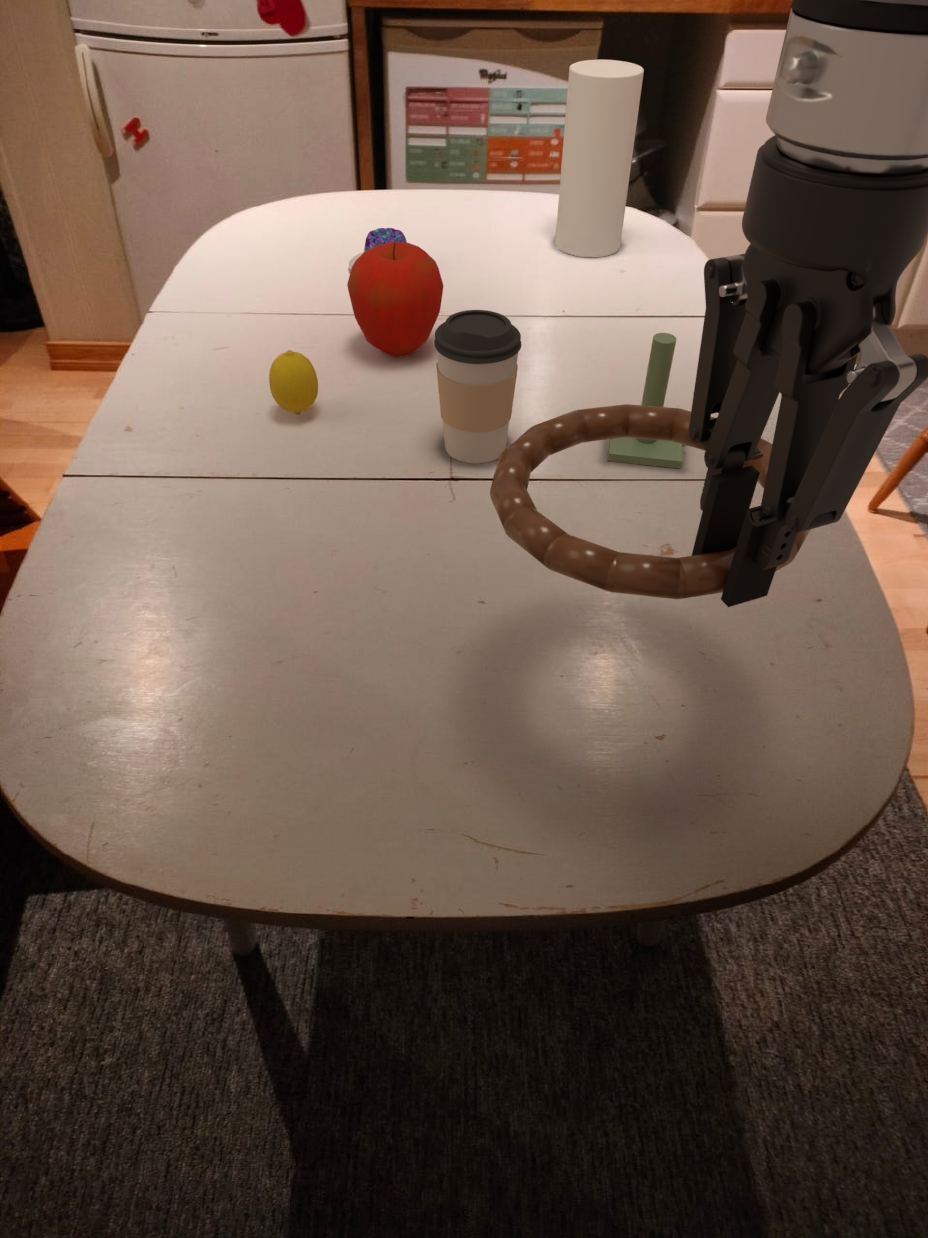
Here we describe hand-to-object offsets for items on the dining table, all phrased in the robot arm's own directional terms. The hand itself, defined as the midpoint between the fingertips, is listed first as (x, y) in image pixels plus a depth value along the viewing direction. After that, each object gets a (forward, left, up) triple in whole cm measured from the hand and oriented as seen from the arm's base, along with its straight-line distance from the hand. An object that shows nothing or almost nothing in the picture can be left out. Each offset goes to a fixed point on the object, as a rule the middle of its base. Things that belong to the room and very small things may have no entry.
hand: (727, 579), depth 51 cm
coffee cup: (+22, -41, -20) cm, 51 cm away
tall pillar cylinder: (+14, -104, -20) cm, 107 cm away
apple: (+36, -62, -20) cm, 75 cm away
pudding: (+44, -88, -20) cm, 101 cm away
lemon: (+44, -44, -20) cm, 66 cm away
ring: (+5, -8, 0) cm, 9 cm away
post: (+3, -45, -20) cm, 50 cm away
